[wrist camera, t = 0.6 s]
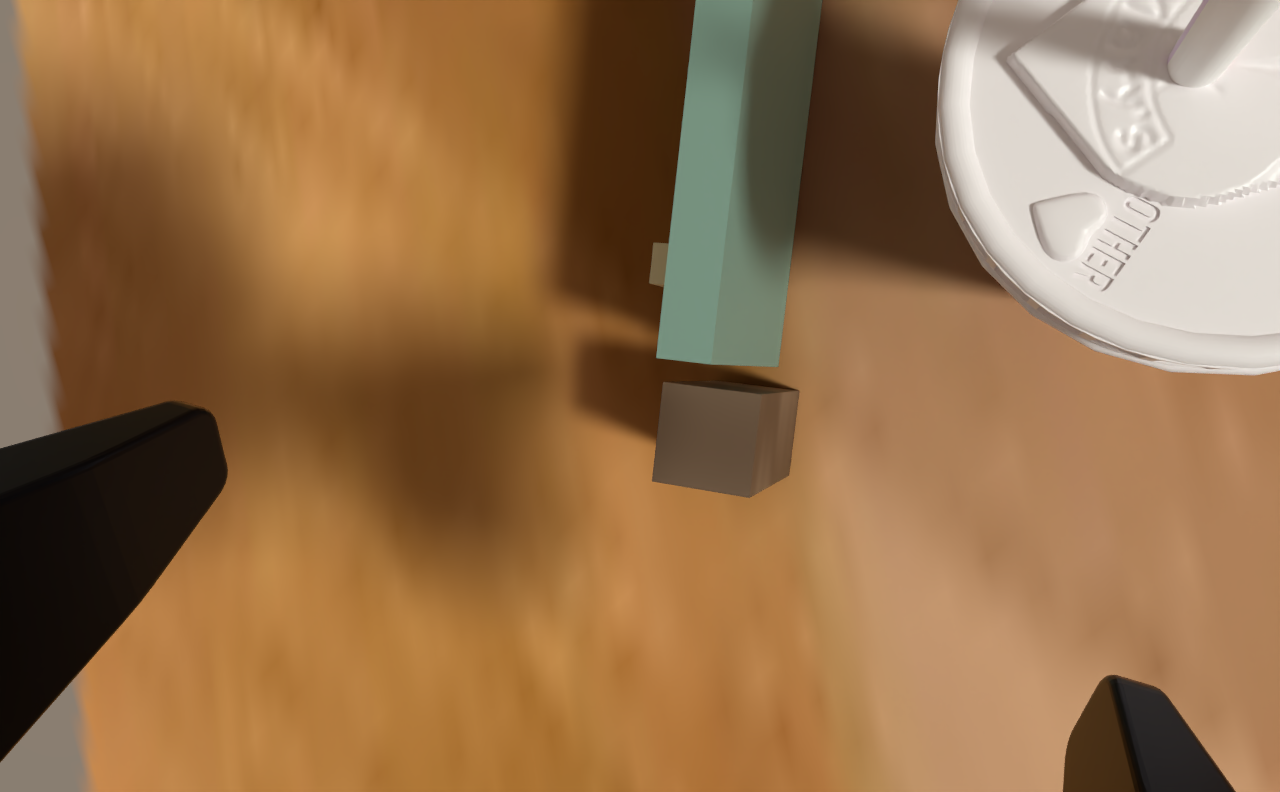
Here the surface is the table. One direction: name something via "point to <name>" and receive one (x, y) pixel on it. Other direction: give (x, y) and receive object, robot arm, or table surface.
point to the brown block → (724, 436)
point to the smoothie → (1123, 170)
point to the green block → (737, 182)
